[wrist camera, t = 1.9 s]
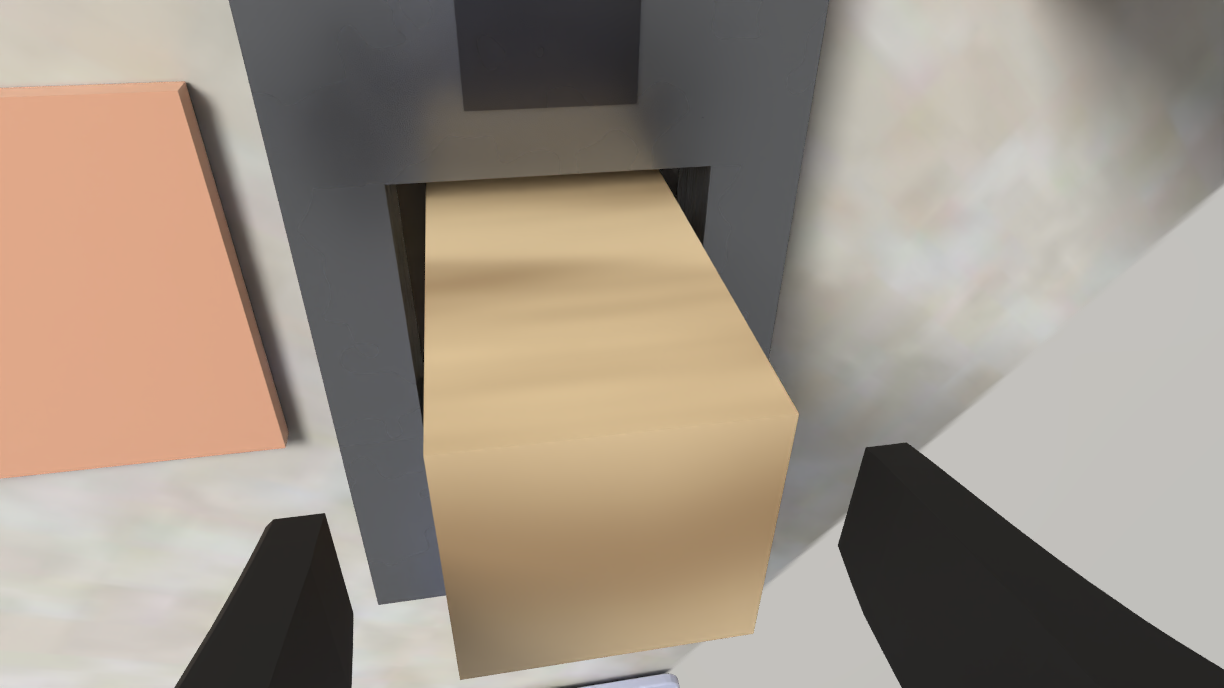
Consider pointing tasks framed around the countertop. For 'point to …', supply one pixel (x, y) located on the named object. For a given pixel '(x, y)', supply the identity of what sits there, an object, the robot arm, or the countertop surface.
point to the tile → (120, 288)
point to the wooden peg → (591, 423)
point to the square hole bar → (505, 173)
